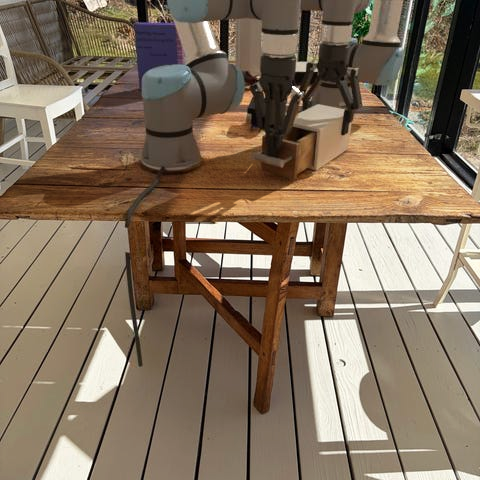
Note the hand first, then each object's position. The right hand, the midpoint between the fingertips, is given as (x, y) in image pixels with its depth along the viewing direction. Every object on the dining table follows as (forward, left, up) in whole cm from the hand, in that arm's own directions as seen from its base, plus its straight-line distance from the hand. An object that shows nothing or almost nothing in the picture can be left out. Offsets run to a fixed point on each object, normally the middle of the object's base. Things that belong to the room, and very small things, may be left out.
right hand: (325, 129), depth 129 cm
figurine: (-63, -37, -6) cm, 73 cm away
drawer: (+17, -7, -5) cm, 19 cm away
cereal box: (-50, -68, -6) cm, 85 cm away
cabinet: (+4, -2, -6) cm, 7 cm away
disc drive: (-87, -17, -6) cm, 89 cm away
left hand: (+24, -10, -1) cm, 26 cm away
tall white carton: (-92, -41, -6) cm, 101 cm away
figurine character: (-16, -22, -6) cm, 28 cm away
